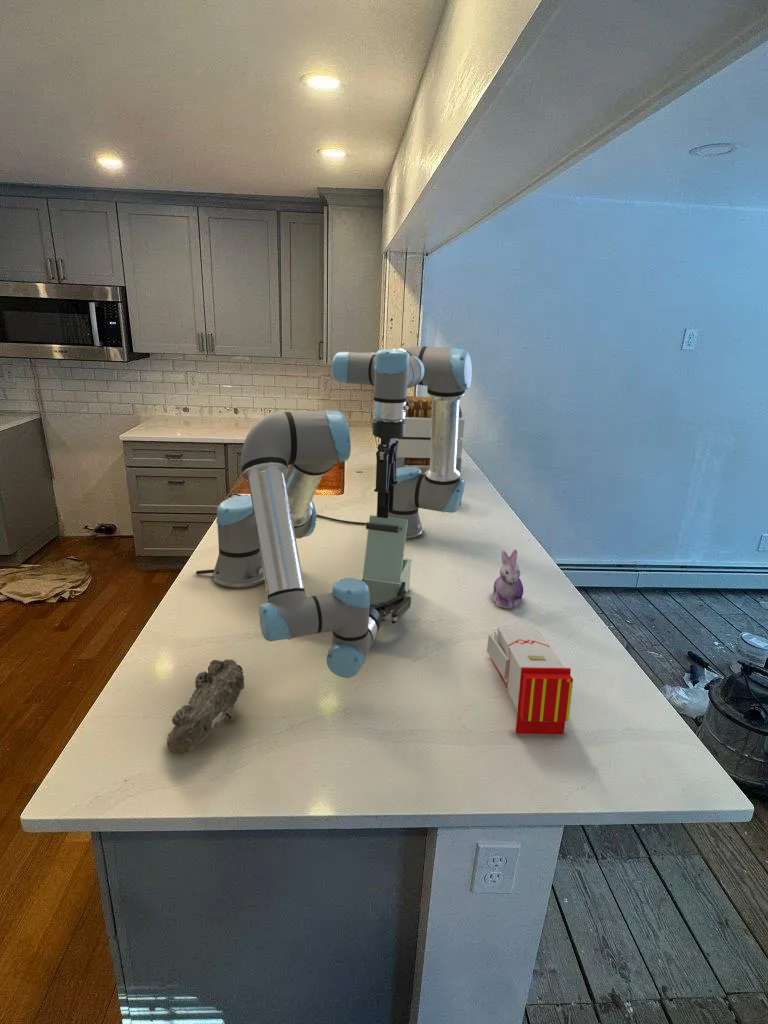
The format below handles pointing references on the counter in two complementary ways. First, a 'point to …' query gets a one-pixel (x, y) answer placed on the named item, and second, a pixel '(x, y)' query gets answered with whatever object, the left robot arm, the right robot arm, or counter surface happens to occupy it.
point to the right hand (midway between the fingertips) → (384, 513)
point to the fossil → (206, 705)
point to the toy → (532, 679)
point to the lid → (385, 548)
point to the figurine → (508, 583)
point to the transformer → (421, 434)
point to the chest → (388, 585)
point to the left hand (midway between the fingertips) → (384, 583)
